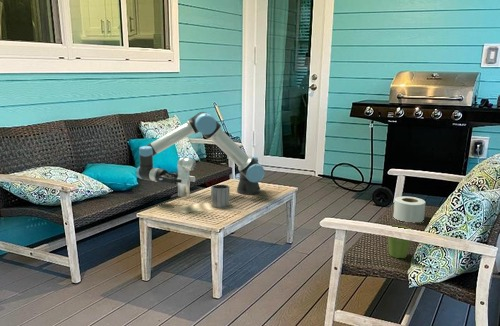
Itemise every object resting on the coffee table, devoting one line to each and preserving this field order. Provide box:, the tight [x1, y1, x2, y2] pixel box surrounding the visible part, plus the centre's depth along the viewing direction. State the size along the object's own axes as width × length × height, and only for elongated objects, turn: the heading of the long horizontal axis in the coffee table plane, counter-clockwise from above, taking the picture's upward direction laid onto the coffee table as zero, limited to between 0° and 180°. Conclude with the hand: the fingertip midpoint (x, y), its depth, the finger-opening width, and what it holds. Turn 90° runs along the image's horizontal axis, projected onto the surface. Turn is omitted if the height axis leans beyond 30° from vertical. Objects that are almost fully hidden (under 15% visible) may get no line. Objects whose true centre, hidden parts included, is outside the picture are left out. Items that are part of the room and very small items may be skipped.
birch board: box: [173, 202, 232, 214], centre depth 246 cm, size 30×13×2 cm, turn 113°
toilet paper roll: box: [392, 195, 427, 223], centre depth 233 cm, size 16×15×11 cm
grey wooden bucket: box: [210, 184, 230, 209], centre depth 248 cm, size 10×10×11 cm
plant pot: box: [387, 225, 413, 259], centre depth 185 cm, size 12×12×11 cm
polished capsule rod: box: [176, 157, 197, 198], centre depth 239 cm, size 9×6×21 cm
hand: (190, 180), depth 238 cm, fingers closed on polished capsule rod, 6 cm apart
